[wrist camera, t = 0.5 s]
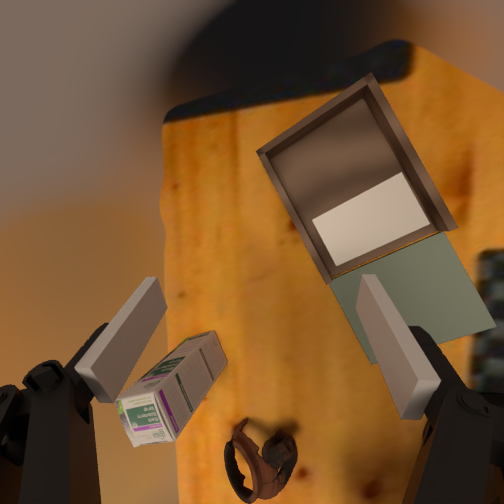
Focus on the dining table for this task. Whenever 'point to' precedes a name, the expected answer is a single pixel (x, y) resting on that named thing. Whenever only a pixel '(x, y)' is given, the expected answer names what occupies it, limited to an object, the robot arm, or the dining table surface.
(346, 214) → the light grey block
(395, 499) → the dining table surface
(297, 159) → the walnut box
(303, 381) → the dining table surface
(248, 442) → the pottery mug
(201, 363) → the syrup box
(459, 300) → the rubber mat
